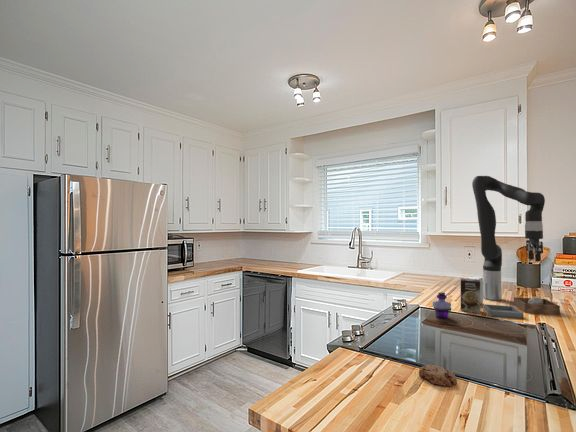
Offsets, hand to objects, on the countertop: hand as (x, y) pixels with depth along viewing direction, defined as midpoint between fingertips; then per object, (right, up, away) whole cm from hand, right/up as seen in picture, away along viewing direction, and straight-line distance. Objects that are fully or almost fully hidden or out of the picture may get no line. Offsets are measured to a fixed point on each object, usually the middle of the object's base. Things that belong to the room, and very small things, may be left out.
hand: (534, 260), depth 170 cm
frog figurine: (0, -26, -1) cm, 26 cm away
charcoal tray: (-22, -26, -7) cm, 35 cm away
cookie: (-86, -26, -74) cm, 116 cm away
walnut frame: (0, -26, -1) cm, 26 cm away
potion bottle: (-55, -26, -12) cm, 62 cm away
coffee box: (-35, -27, -1) cm, 44 cm away
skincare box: (-24, -27, +13) cm, 38 cm away
